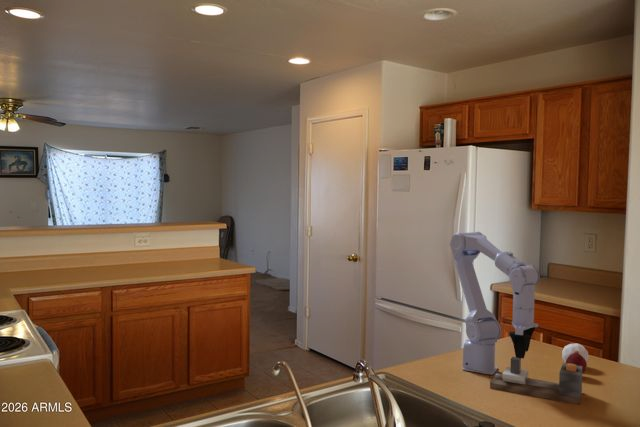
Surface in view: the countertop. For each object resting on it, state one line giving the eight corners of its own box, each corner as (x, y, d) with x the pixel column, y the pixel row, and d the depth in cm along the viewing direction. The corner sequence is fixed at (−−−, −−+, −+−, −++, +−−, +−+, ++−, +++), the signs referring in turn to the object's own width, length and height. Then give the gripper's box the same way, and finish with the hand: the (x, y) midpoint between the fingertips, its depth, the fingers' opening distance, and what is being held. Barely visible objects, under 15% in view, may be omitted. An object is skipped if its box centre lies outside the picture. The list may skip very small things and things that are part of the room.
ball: (575, 377, 171) (569, 360, 167) (560, 361, 178) (554, 345, 175) (596, 366, 171) (591, 349, 167) (580, 350, 178) (574, 334, 174)
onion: (588, 380, 160) (589, 354, 160) (568, 378, 161) (568, 352, 161) (583, 374, 166) (584, 348, 166) (563, 372, 167) (564, 347, 167)
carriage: (502, 382, 153) (502, 359, 152) (506, 374, 159) (507, 353, 158) (524, 386, 150) (524, 363, 149) (528, 378, 156) (528, 356, 156)
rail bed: (490, 387, 153) (490, 361, 153) (497, 377, 162) (497, 352, 161) (579, 404, 142) (580, 376, 141) (581, 392, 150) (582, 365, 150)
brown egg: (565, 379, 146) (565, 365, 146) (566, 376, 149) (566, 362, 149) (575, 380, 145) (576, 367, 145) (576, 378, 147) (576, 364, 147)
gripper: (535, 314, 145) (533, 363, 146) (541, 304, 158) (539, 349, 158) (507, 310, 149) (506, 359, 149) (516, 301, 161) (514, 346, 162)
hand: (521, 354), depth 154 cm, fingers open, 7 cm apart
